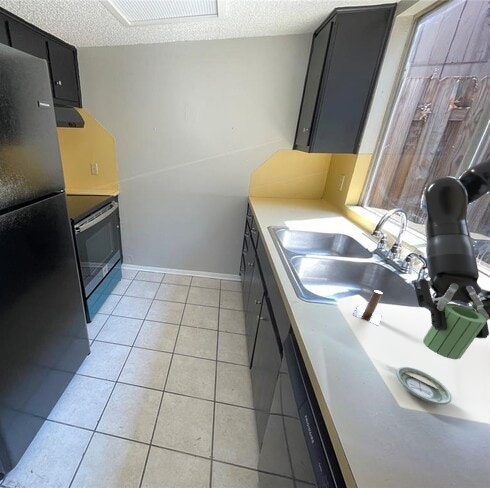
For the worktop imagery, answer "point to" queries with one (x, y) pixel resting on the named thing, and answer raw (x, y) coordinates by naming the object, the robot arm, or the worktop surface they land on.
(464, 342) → the hollow cylinder
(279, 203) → the worktop surface
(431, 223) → the robot arm
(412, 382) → the saucer
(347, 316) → the worktop surface
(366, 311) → the stand
